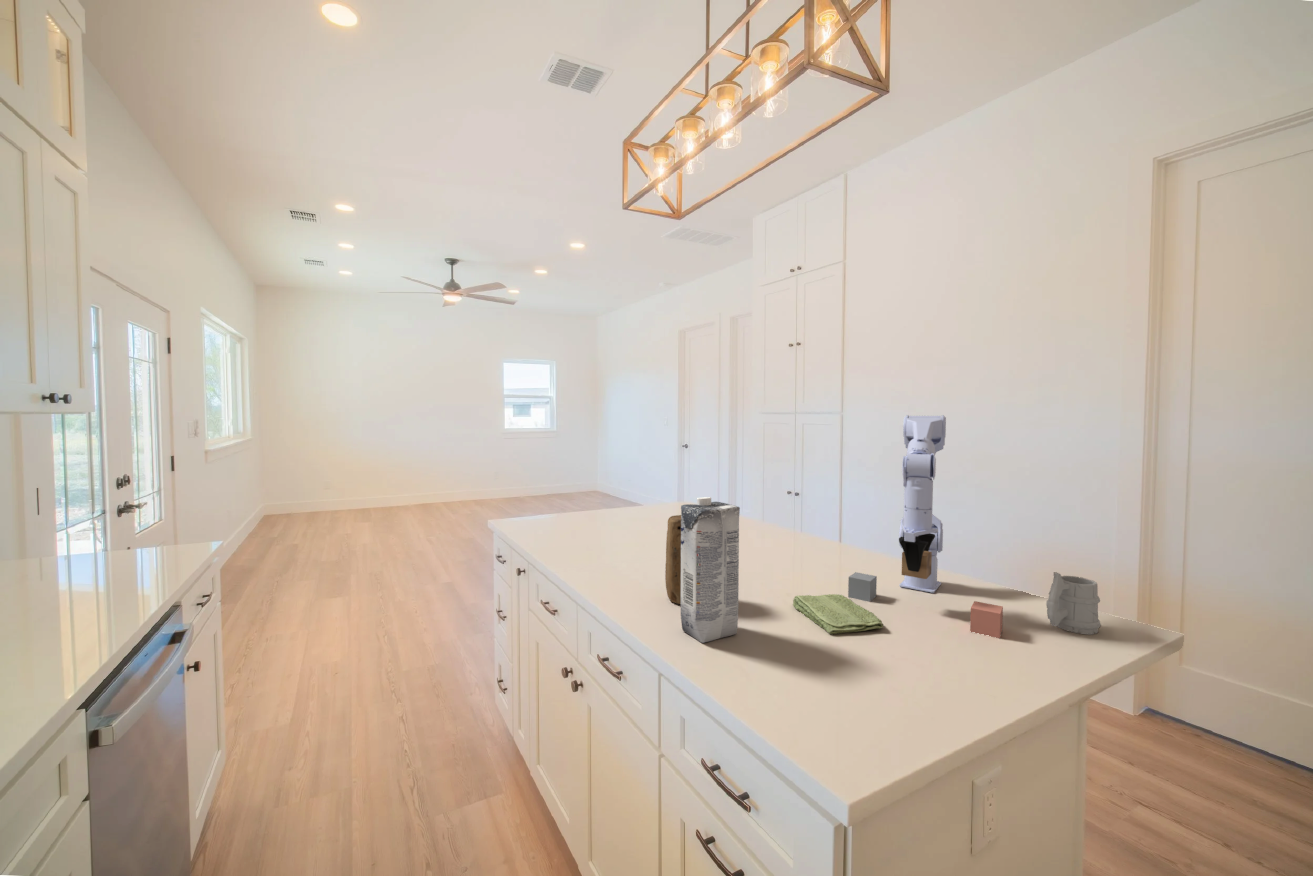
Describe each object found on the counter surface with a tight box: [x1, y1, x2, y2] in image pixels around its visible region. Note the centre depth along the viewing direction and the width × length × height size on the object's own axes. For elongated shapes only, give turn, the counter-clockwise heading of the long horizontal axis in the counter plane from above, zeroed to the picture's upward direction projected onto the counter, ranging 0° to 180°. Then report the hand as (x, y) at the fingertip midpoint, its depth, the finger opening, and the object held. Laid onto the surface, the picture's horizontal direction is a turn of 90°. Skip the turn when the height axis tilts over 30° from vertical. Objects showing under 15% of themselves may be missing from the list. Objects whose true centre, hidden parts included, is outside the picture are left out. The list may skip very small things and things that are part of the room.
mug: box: [1045, 571, 1102, 635], centre depth 107 cm, size 8×12×12 cm, turn 108°
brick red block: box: [969, 600, 1004, 639], centre depth 106 cm, size 5×5×5 cm
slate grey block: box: [847, 571, 878, 603], centre depth 126 cm, size 5×5×5 cm
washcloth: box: [792, 593, 884, 635], centre depth 113 cm, size 13×18×3 cm
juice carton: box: [680, 496, 741, 644], centre depth 104 cm, size 9×10×27 cm
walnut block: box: [901, 551, 932, 579], centre depth 118 cm, size 5×5×5 cm
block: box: [664, 514, 681, 605], centre depth 123 cm, size 11×8×20 cm
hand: (916, 567), depth 118 cm, fingers closed on walnut block, 5 cm apart
